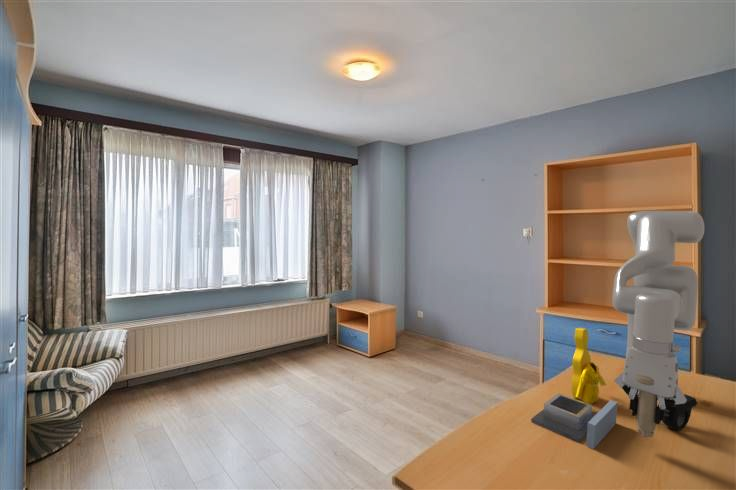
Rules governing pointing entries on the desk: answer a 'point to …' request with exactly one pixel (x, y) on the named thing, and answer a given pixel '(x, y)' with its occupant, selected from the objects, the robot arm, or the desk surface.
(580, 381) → the figure statuette
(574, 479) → the desk surface
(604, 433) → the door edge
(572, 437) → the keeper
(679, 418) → the controller
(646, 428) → the handle
